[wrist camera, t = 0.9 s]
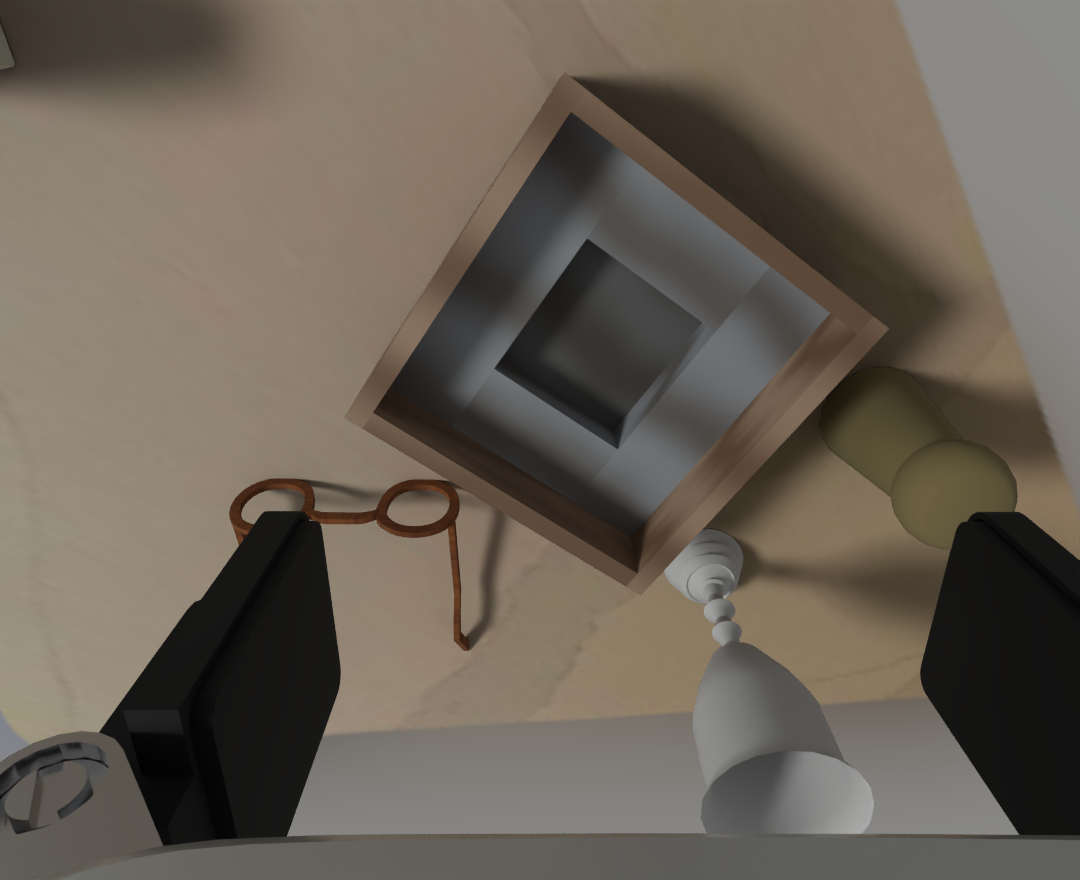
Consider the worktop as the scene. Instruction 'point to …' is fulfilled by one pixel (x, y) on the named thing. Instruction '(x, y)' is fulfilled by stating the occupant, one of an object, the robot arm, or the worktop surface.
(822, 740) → the chalice
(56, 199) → the worktop surface
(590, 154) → the wooden box
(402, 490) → the glasses
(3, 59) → the skincare box
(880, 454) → the cork
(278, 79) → the worktop surface
